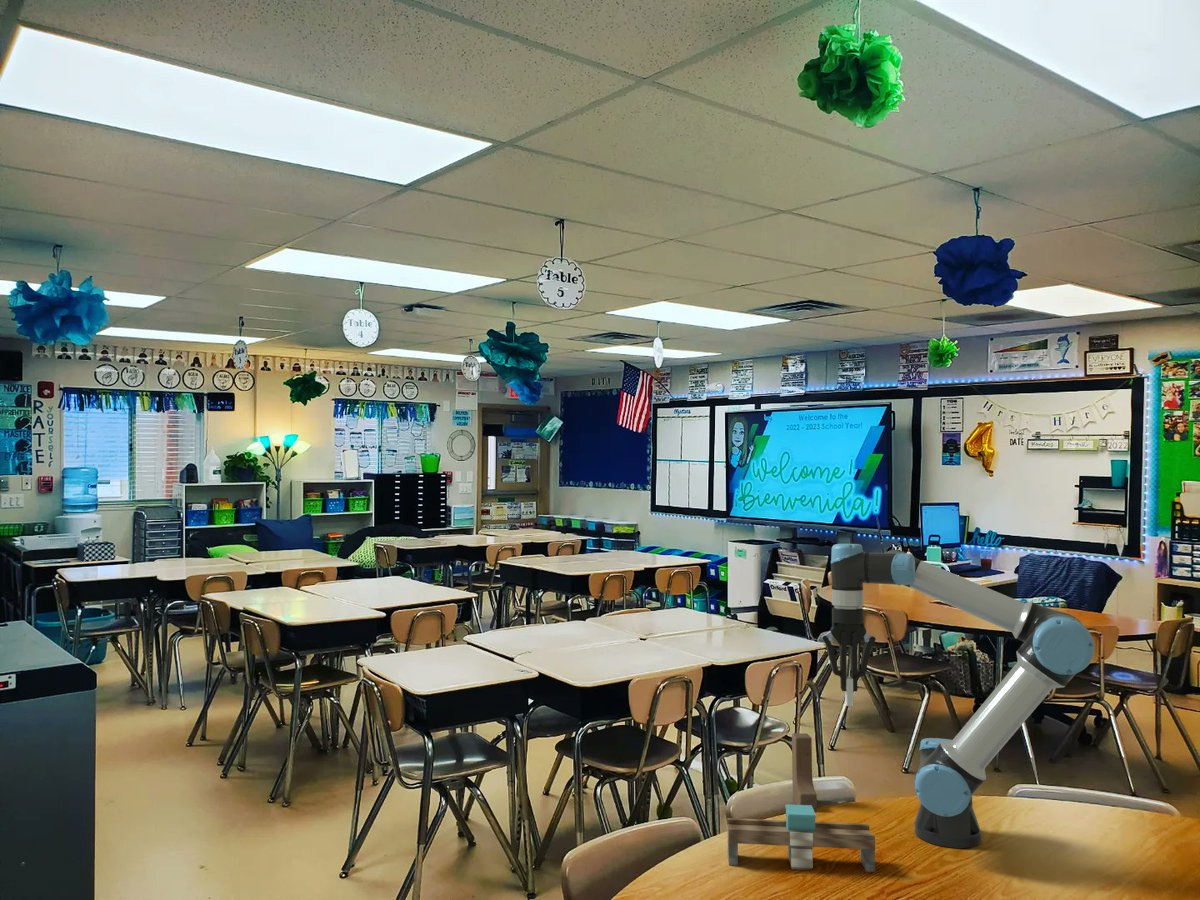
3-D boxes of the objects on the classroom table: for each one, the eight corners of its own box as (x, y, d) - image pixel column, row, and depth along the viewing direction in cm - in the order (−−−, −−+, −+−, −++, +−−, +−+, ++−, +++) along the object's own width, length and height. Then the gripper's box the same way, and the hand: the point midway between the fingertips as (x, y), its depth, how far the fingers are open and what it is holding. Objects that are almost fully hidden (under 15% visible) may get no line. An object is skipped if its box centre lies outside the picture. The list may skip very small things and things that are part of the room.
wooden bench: (868, 859, 193) (868, 823, 194) (875, 873, 186) (875, 836, 187) (727, 853, 197) (727, 817, 197) (729, 866, 190) (728, 829, 190)
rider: (812, 825, 195) (811, 805, 195) (816, 836, 188) (815, 815, 189) (785, 824, 195) (785, 804, 196) (788, 835, 189) (788, 814, 189)
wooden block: (817, 811, 224) (816, 742, 225) (800, 811, 224) (799, 742, 225) (808, 799, 233) (807, 733, 234) (792, 799, 233) (791, 733, 234)
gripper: (871, 605, 211) (873, 702, 209) (818, 604, 212) (819, 700, 210) (878, 609, 203) (880, 709, 202) (822, 608, 205) (824, 707, 203)
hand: (849, 704), depth 206 cm, fingers closed
